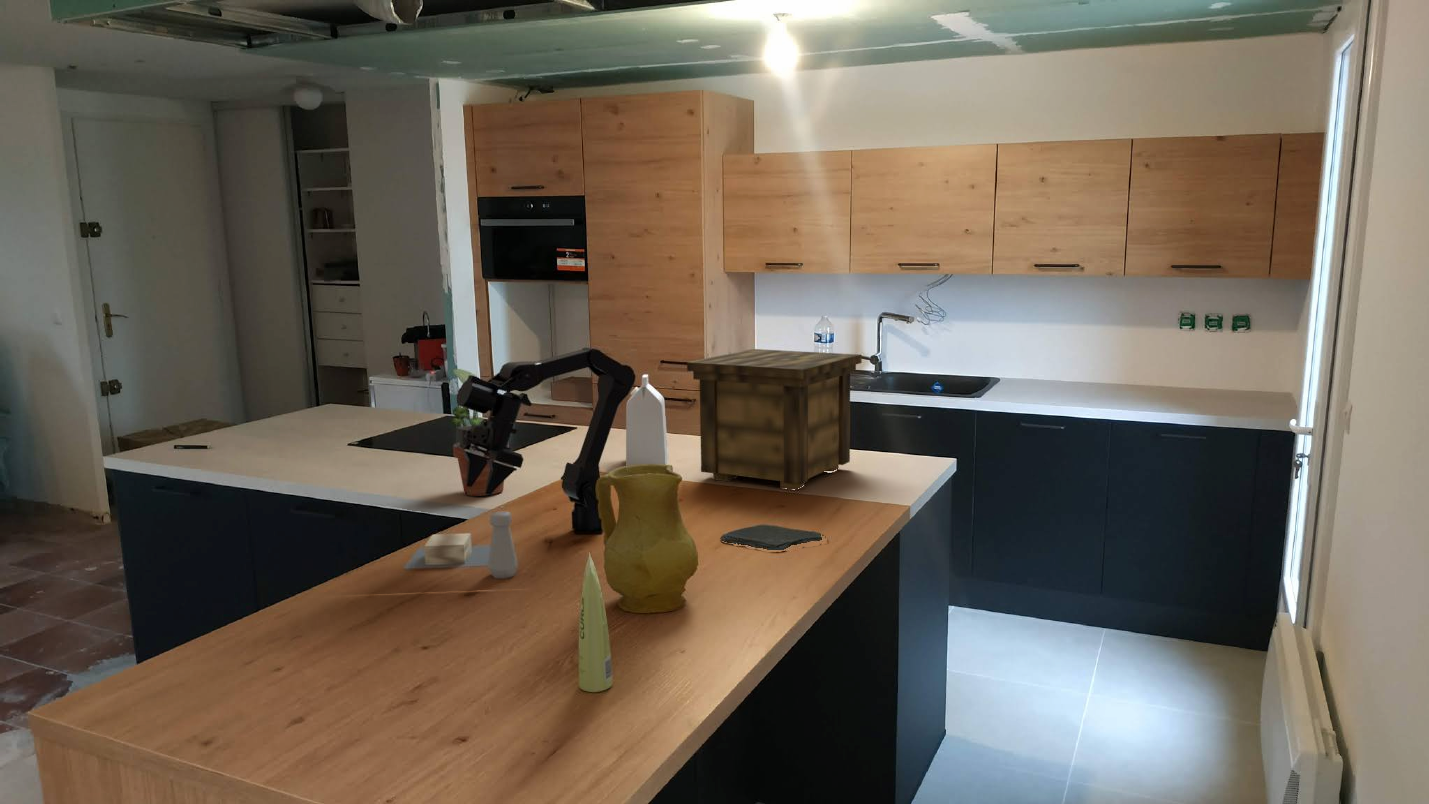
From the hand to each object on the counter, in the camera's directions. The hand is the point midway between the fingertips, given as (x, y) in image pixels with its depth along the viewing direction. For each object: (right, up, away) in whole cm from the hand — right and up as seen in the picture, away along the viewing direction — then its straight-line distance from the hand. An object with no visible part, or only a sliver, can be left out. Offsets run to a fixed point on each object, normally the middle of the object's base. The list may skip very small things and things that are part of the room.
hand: (477, 490), depth 210 cm
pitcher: (+38, -18, -26) cm, 50 cm away
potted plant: (-11, -6, +53) cm, 55 cm away
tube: (+32, -24, -61) cm, 73 cm away
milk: (+30, 0, +86) cm, 91 cm away
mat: (-5, -14, 0) cm, 15 cm away
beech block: (-6, -14, -1) cm, 15 cm away
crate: (+67, -2, +68) cm, 96 cm away
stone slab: (+63, -12, +8) cm, 65 cm away
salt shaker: (+8, -16, -12) cm, 22 cm away
